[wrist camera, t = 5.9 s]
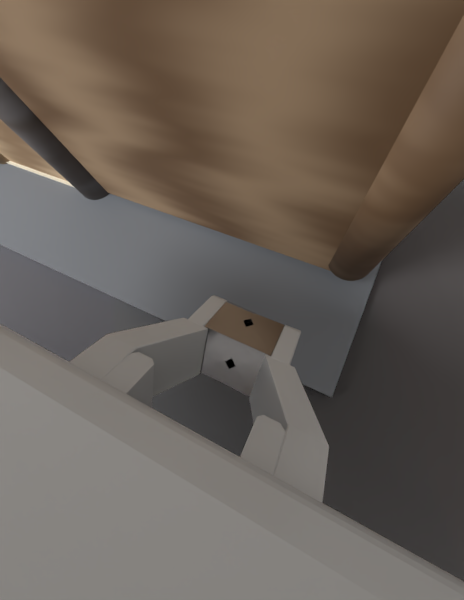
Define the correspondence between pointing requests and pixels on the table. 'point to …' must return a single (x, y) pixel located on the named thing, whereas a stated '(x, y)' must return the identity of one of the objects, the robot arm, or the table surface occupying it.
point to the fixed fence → (39, 146)
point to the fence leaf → (255, 112)
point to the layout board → (180, 266)
